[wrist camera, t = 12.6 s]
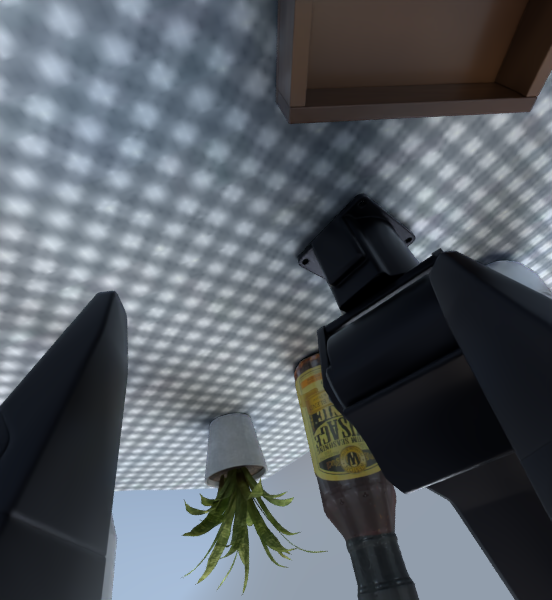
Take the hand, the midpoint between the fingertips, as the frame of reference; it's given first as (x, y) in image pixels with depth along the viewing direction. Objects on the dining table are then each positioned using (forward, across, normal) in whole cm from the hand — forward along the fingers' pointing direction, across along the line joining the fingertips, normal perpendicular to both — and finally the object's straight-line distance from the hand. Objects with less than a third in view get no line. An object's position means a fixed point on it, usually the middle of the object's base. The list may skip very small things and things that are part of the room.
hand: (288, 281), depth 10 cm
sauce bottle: (+12, -7, +25) cm, 29 cm away
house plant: (+12, +2, +34) cm, 37 cm away
